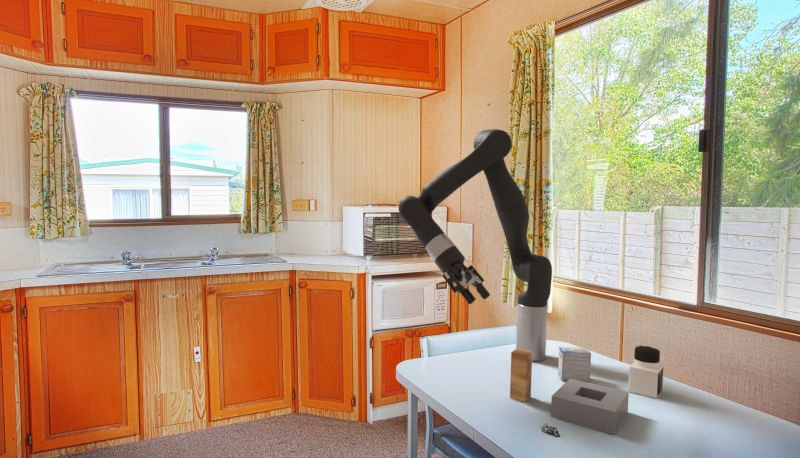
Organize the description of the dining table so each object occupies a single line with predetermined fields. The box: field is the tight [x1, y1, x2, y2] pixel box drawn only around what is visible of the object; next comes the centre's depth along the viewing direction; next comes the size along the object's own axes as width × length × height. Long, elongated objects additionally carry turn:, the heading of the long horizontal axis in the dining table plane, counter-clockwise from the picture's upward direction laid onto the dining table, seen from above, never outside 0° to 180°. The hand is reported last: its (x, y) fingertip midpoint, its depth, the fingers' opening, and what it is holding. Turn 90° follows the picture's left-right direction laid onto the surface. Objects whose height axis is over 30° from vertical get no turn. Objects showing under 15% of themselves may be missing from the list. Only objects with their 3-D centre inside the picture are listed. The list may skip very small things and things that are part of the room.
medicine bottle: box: [627, 344, 664, 399], centre depth 130 cm, size 7×7×12 cm
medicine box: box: [557, 346, 592, 383], centre depth 139 cm, size 8×4×9 cm, turn 84°
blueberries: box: [539, 423, 564, 438], centre depth 107 cm, size 7×8×2 cm
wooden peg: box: [509, 348, 533, 403], centre depth 125 cm, size 4×4×12 cm
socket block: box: [550, 379, 630, 435], centre depth 116 cm, size 14×14×5 cm
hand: (480, 299), depth 131 cm, fingers open, 8 cm apart
